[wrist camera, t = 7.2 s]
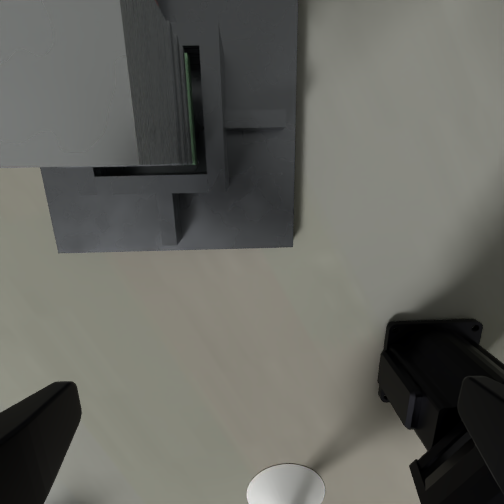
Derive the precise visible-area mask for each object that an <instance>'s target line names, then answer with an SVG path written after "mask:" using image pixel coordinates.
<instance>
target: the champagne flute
mask: <svg viewBox="0 0 504 504" xmlns="http://www.w3.org/2000/svg"><path fill="white" fill-rule="evenodd" d="M324 495H325V486H324V483H323V481H322V479H321V478H320V476H319V475H318V474H317V473H316V472H314V471H313V470H311V469H309V468H307V467H304V466H301V465H296V464H281V465H276V466H273V467H270V468H267V469H265V470H263V471H261V472H260V473H259V474H257V475H256V476H255V477H254V478H253V479H252V481H251V482H250V484H249V486H248V489H247V500H248V503H249V504H321V502H322V501H323V498H324Z"/></svg>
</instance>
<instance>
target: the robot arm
mask: <svg viewBox="0 0 504 504" xmlns="http://www.w3.org/2000/svg"><path fill="white" fill-rule="evenodd" d="M474 325H475V326H474ZM473 326H474V327H473ZM472 327H473V328H472ZM394 328H397V329H396V330H395V331H393V329H394ZM482 329H483V325H482V323H480V322H479V321H477V320H476V319H453V320H421V321H393V322H390V323H389V324H388V325H387V327H386V334H385V342H384V350H383V351H382V353H381V357H380V365H379V373H378V383H379V391H378V395H379V397H380V399H381V400H382V401H383V402H390V403H391V405H392V406H393V408H394V410H395V411H396V413H397V415H398V416H399V418H400V420H401V421H402V423H403V425H404V426H405V427H406V428H407V429H409V430H410V429H414V431H415V432H416V434H417V435H418V437H419V438H420V440H421V442H422V443H423V445H424V446H425V448H426V449H427V452H426V453H425V454H424V455H423V456H422V457H421V458H420V459H419V460H417V459H416V460H414V461H413V462H412V463H411V464H410V465H409V467H410V471H411V474H412V477H413V480H414V483H415V486H416V490H417V493H418V496H419V499H420V502H421V504H504V364H503V363H502V362H501V361H499V360H498V359H497V358H495V357H494V356H493V355H492V354H490V353H489V352H488V351H486V350H485V349H484V348H483V347H481V346H480V345H479V342H480V338H481V333H482ZM384 395H385V396H384ZM81 414H82V411H81V405H80V400H79V395H78V390H77V386H76V384H75V383H74V382H72V381H60V382H54V383H52V384H50V385H48V386H47V387H45V388H43V389H41V390H40V391H38V392H36V393H34V394H32V395H31V396H29V397H27V398H25V399H24V400H22V401H20V402H18V403H17V404H15V405H13V406H11V407H10V408H8V409H6V410H4V411H3V412H1V413H0V504H44V502H45V500H46V498H47V496H48V494H49V492H50V490H51V487H52V485H53V483H54V481H55V478H56V476H57V474H58V471H59V469H60V467H61V464H62V462H63V460H64V457H65V455H66V453H67V450H68V448H69V446H70V444H71V441H72V439H73V437H74V434H75V432H76V430H77V427H78V425H79V422H80V419H81Z"/></svg>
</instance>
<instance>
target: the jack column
mask: <svg viewBox="0 0 504 504" xmlns="http://www.w3.org/2000/svg"><path fill="white" fill-rule="evenodd" d="M175 165H197V156H196V141H195V127H194V112H193V98H192V83H191V69H190V57H189V56H188V54H187V53H184V48H183V46H182V45H179V40H178V36H177V34H173V32H172V25H171V23H170V21H166V20H165V18H164V16H163V14H162V12H161V10H160V9H159V7H158V5H157V3H156V1H155V0H0V168H21V167H57V168H77V167H126V166H175Z"/></svg>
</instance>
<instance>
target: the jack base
mask: <svg viewBox="0 0 504 504" xmlns="http://www.w3.org/2000/svg"><path fill="white" fill-rule="evenodd" d="M155 1H156V3H157V5H158V7H159V9H160V10H161V12H162V14H163V16H164V18H165V20H166V21H170V23H171V25H172V32H173V34H177V36H178V40H179V45H182V46H183V48H184V53H187V54H188V56H189V57H190V69H191V83H192V98H193V112H194V127H195V141H196V156H197V165H175V166H126V167H77V168H57V167H40V169H41V174H42V178H43V183H44V188H45V192H46V197H47V202H48V206H49V211H50V216H51V220H52V225H53V230H54V234H55V239H56V244H57V248H58V253H86V252H125V251H163V250H201V249H239V248H277V247H293V220H294V172H295V123H296V74H297V26H298V0H155Z"/></svg>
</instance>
